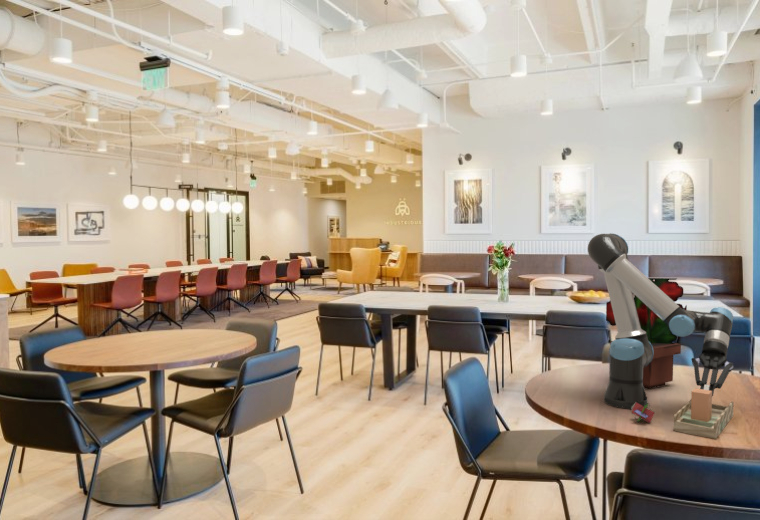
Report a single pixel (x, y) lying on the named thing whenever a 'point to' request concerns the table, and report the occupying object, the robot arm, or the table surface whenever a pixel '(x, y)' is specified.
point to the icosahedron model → (642, 412)
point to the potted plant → (656, 335)
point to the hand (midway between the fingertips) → (704, 403)
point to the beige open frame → (703, 428)
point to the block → (701, 404)
